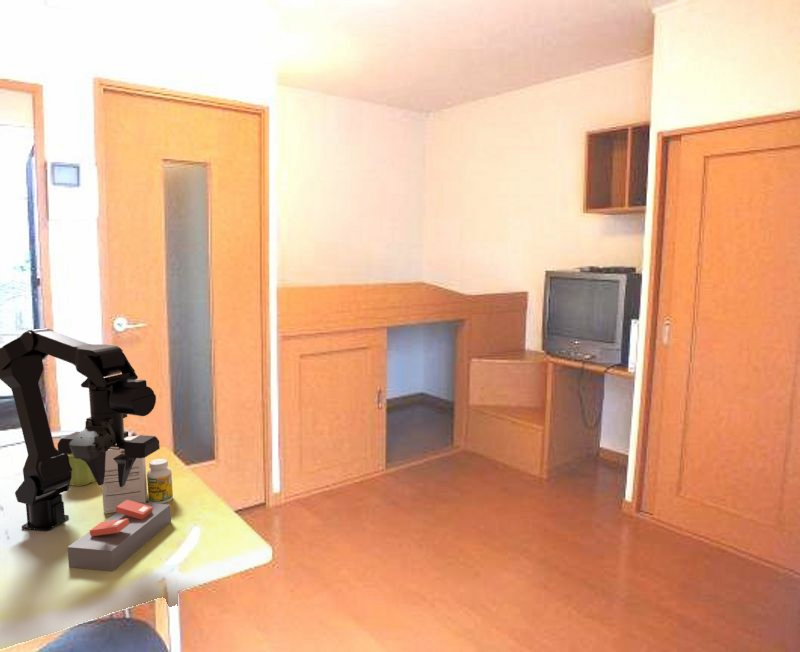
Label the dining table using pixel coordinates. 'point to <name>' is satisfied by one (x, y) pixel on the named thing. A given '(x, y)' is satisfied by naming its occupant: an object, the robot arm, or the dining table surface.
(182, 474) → the dining table surface
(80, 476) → the plant pot
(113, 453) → the supplement box
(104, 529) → the block
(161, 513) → the long grey block
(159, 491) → the supplement bottle
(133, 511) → the rocker back
